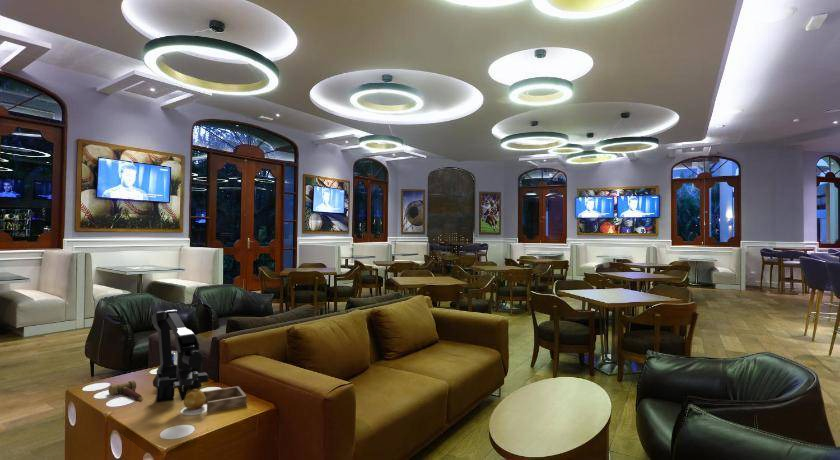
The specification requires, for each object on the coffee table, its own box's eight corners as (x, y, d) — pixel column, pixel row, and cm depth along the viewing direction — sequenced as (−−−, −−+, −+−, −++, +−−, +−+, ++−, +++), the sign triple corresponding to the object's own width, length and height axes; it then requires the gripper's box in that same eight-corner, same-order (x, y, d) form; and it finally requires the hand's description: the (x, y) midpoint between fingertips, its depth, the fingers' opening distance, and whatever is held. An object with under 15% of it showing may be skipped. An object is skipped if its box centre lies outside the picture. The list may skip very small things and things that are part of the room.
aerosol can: (205, 386, 220) (206, 345, 221) (188, 390, 213) (190, 348, 214) (195, 382, 225) (197, 342, 225) (179, 387, 218) (181, 345, 218)
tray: (207, 412, 188) (207, 402, 188) (201, 400, 201) (201, 391, 201) (246, 405, 197) (246, 396, 198) (238, 394, 210) (238, 386, 210)
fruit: (192, 397, 198) (189, 384, 194) (210, 399, 198) (207, 387, 194) (182, 412, 191) (178, 400, 187) (200, 415, 191) (197, 402, 187)
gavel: (154, 391, 202) (129, 397, 194) (153, 401, 202) (129, 408, 194) (132, 379, 214) (108, 384, 206) (131, 388, 214) (107, 394, 206)
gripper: (160, 370, 178) (158, 410, 178) (211, 365, 189) (209, 402, 188) (158, 364, 188) (156, 401, 187) (207, 359, 198) (205, 394, 198)
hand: (182, 400), depth 190 cm, fingers closed
